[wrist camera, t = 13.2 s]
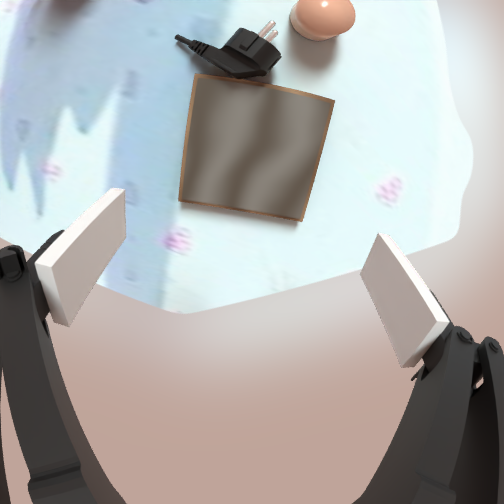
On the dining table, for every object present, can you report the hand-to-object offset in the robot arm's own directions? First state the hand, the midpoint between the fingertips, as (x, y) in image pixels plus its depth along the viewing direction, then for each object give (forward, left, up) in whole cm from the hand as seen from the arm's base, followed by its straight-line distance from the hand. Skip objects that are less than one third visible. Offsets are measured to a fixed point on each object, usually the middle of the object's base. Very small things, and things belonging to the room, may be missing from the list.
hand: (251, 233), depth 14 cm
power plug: (-10, +15, -22) cm, 29 cm away
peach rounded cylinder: (+4, +18, -22) cm, 29 cm away
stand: (0, 0, -23) cm, 23 cm away
